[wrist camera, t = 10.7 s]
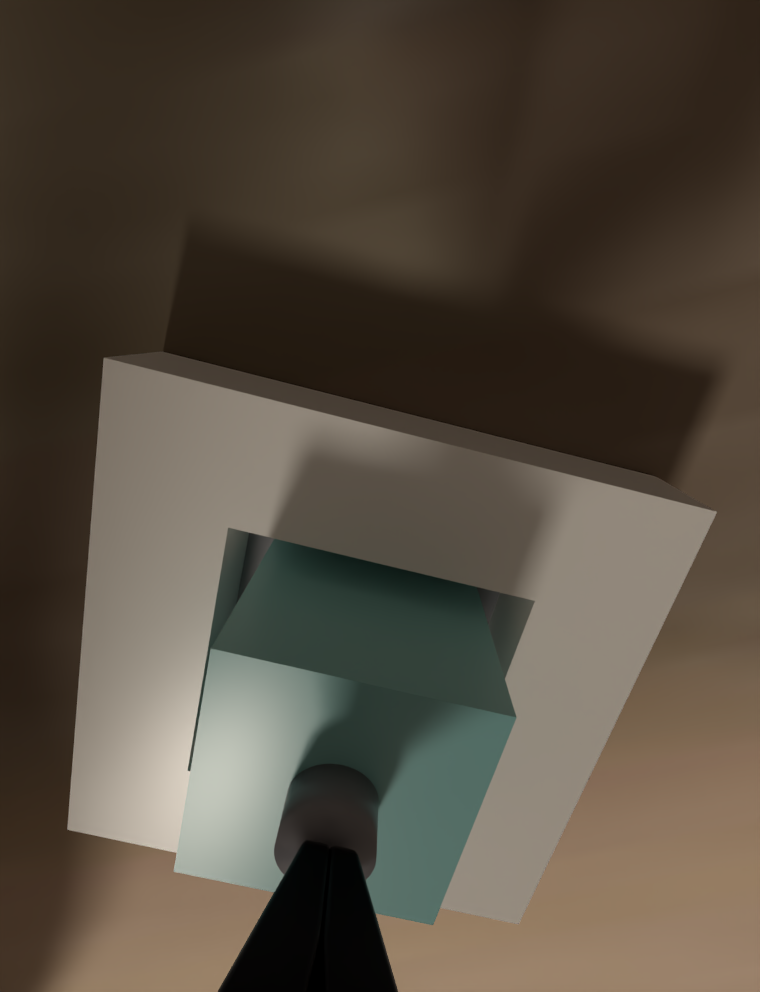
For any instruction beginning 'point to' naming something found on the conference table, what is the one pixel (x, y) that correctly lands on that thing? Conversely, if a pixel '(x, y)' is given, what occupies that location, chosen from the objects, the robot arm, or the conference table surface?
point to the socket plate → (372, 537)
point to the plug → (346, 728)
